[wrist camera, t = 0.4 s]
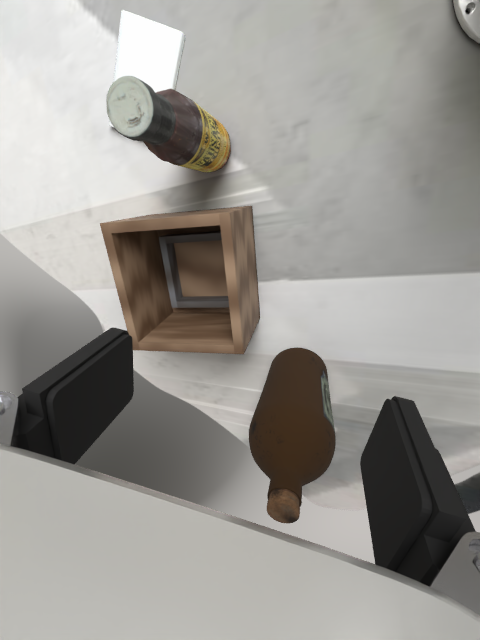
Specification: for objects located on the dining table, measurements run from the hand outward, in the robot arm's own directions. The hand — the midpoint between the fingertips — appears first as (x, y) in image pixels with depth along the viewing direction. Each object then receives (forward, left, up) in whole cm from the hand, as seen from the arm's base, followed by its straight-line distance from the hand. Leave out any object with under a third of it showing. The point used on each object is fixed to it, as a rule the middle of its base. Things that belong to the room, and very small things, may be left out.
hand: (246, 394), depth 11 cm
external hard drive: (-21, -20, -37) cm, 47 cm away
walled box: (+3, -15, -36) cm, 39 cm away
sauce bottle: (-13, -12, -36) cm, 40 cm away
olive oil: (+22, -1, -36) cm, 42 cm away
